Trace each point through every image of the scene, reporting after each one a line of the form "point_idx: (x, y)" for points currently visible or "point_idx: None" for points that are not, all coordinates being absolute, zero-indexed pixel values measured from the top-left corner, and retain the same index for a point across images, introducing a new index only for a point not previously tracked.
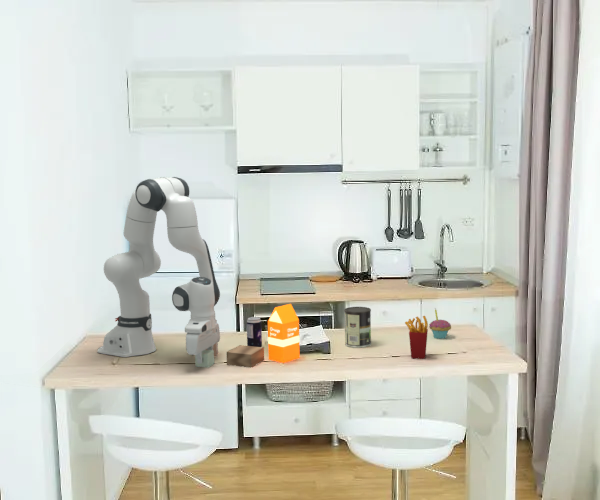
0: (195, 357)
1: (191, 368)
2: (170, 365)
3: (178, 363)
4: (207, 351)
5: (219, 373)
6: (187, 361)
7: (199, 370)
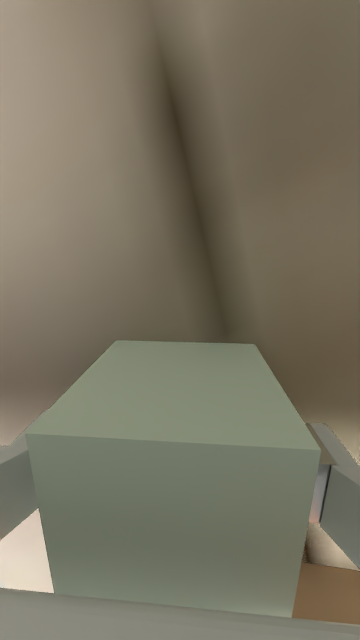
0: (71, 390)
1: (45, 331)
2: (46, 14)
3: (156, 80)
4: (200, 585)
5: (26, 562)
6: (265, 158)
7: (25, 419)
